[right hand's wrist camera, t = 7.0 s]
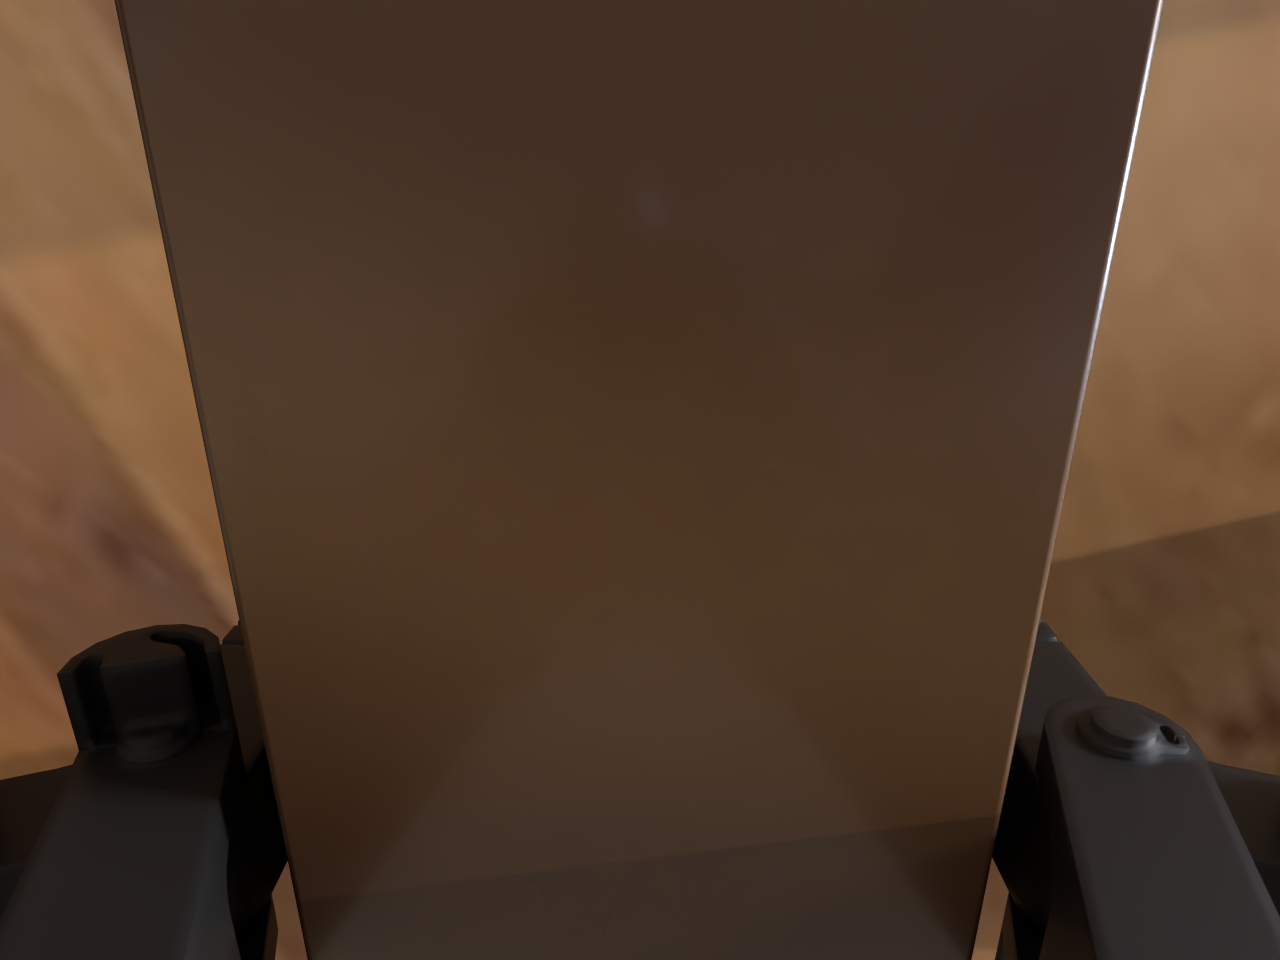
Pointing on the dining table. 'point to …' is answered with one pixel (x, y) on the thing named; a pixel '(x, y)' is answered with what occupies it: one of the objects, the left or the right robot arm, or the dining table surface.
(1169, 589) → the dining table surface
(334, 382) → the post
